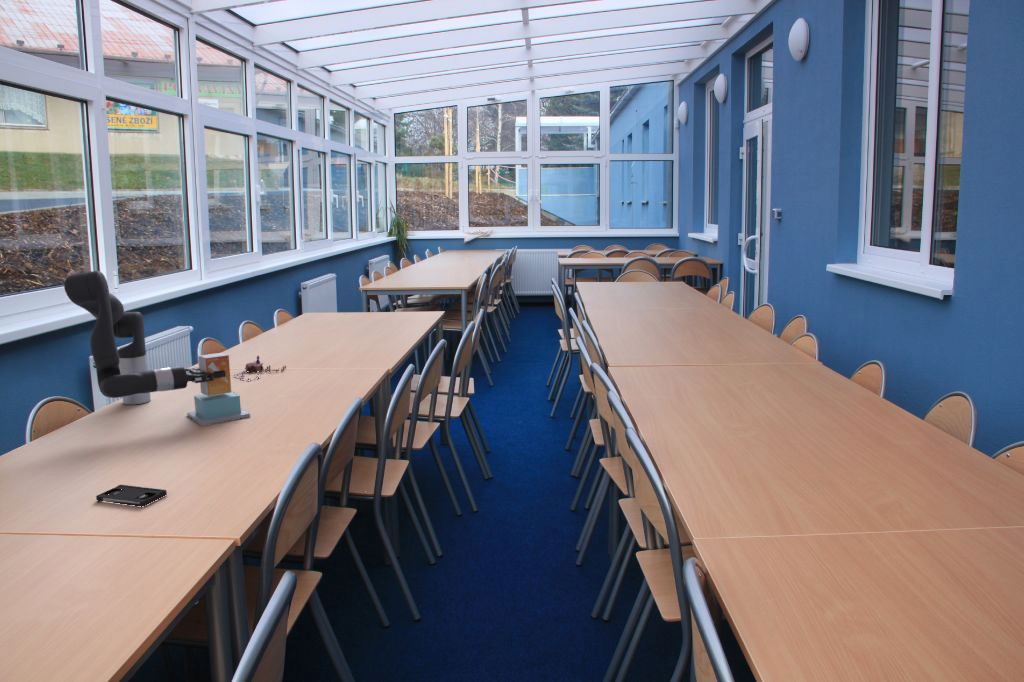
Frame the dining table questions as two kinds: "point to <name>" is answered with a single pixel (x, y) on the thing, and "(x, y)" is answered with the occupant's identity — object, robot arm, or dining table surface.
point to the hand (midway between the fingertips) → (221, 371)
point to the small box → (213, 364)
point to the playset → (256, 367)
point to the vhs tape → (131, 495)
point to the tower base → (217, 408)
